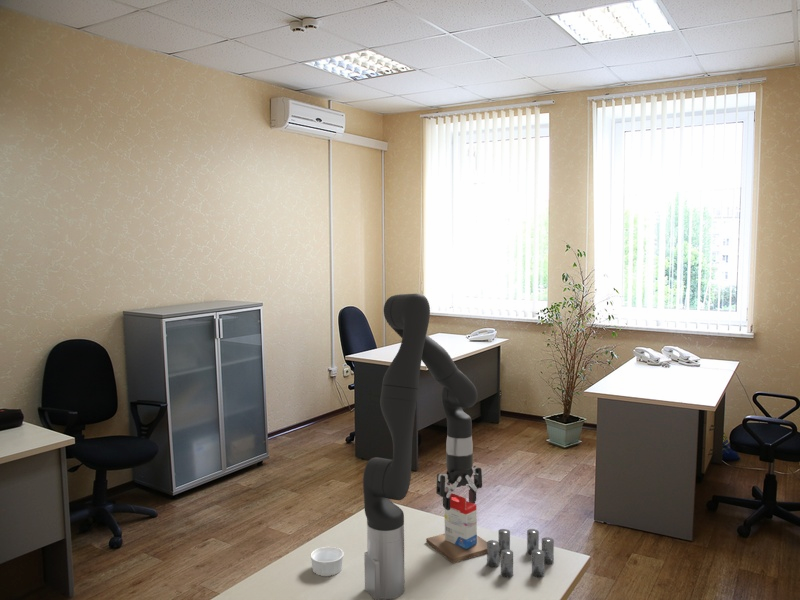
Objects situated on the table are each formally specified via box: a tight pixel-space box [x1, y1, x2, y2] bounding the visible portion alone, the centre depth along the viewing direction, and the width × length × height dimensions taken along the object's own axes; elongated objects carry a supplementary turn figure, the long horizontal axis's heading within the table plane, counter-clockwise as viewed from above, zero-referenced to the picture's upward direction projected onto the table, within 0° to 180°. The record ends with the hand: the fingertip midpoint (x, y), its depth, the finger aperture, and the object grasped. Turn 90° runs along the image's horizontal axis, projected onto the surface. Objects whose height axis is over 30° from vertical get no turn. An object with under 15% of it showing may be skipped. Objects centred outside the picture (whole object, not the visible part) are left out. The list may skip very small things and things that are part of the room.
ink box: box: [444, 492, 478, 549], centre depth 174 cm, size 8×5×15 cm, turn 43°
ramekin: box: [310, 546, 345, 577], centre depth 162 cm, size 9×9×4 cm
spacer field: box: [486, 528, 555, 579], centre depth 164 cm, size 17×17×6 cm
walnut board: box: [425, 533, 488, 564], centre depth 174 cm, size 14×14×1 cm
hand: (459, 506), depth 174 cm, fingers open, 8 cm apart
